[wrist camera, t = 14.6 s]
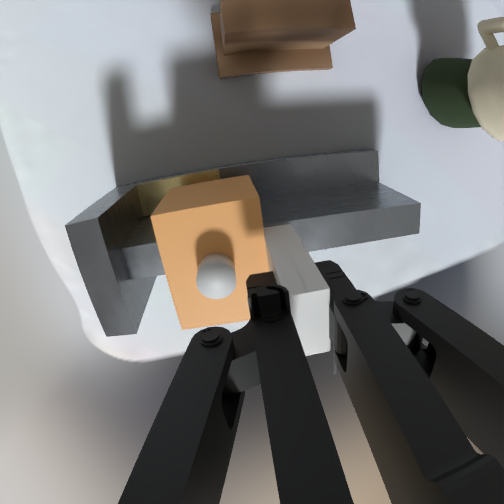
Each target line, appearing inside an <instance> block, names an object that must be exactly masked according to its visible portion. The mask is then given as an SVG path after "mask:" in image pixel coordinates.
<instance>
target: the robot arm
mask: <svg viewBox="0 0 504 504" xmlns="http://www.w3.org/2000/svg"><path fill="white" fill-rule="evenodd" d="M264 235H265V236H264V238H265V246H266V253H267V261H268V269H269V272H263V273H257V274H251V275H249V277H248V278H247V280H246V287H247V294H248V297H247V300H248V306H249V311H250V320H249V322H248V323H247V324H246V325H245V326H244V327H243V328H241V329H239V330H237V331H235V332H232V333H230V331H229V330H227V329H225V328H223V327H208V328H206V329H203V330H201V331H199V332H198V333H196V334H195V335H194V336H193V338H192V339H191V341H190V343H189V345H188V348H187V350H186V352H185V354H184V356H183V359H182V361H181V363H180V365H179V367H178V369H177V372H176V374H175V376H174V378H173V380H172V383H171V385H170V387H169V389H168V392H167V394H166V396H165V398H164V401H163V402H162V405H161V407H160V409H159V412H158V414H157V416H156V418H155V420H154V423H153V425H152V427H151V429H150V431H149V434H148V436H147V438H146V441H145V443H144V445H143V447H142V450H141V452H140V454H139V457H138V459H137V461H136V463H135V466H134V468H133V470H132V473H131V475H130V477H129V479H128V482H127V484H126V486H125V489H124V491H123V493H122V496H121V498H120V500H119V503H118V504H219V502H220V498H221V494H222V490H223V486H224V482H225V478H226V474H227V470H228V466H229V461H230V457H231V453H232V449H233V444H234V440H235V436H236V432H237V427H238V423H239V419H240V414H241V409H242V405H243V401H244V397H245V390H247V389H249V388H252V387H254V386H256V385H259V384H261V388H262V393H263V400H264V407H265V413H266V419H267V425H268V432H269V438H270V444H271V450H272V457H273V463H274V468H275V475H276V481H277V487H278V492H279V498H280V504H354V503H353V500H352V498H351V494H350V491H349V488H348V485H347V481H346V479H345V475H344V472H343V469H342V466H341V463H340V459H339V456H338V453H337V450H336V447H335V444H334V441H333V437H332V434H331V431H330V428H329V425H328V422H327V419H326V416H325V413H324V410H323V407H322V404H321V401H320V398H319V395H318V392H317V389H316V386H315V383H314V380H313V377H312V374H311V371H310V368H309V365H308V362H307V359H306V356H308V355H312V354H317V353H322V352H327V351H330V340H331V343H332V345H333V347H334V363H333V372H334V374H336V373H337V368H338V370H339V372H340V375H341V377H342V379H343V382H344V384H345V387H346V389H347V391H348V394H349V396H350V399H351V401H352V404H353V406H354V408H355V411H356V413H357V416H358V418H359V421H360V423H361V425H362V428H363V431H364V433H365V436H366V438H367V440H368V443H369V446H370V448H371V451H372V453H373V456H374V458H375V461H376V463H377V466H378V468H379V471H380V473H381V476H382V479H383V482H384V484H385V487H386V490H387V492H388V495H389V498H390V500H391V503H392V504H504V346H503V345H502V344H500V343H499V342H498V341H496V340H495V339H494V338H492V337H491V336H489V335H488V334H487V333H485V332H484V331H482V330H481V329H479V328H478V327H476V326H475V325H474V324H472V323H471V322H469V321H468V320H466V319H465V318H463V317H462V316H460V315H459V314H457V313H456V312H454V311H453V310H451V309H450V308H448V307H447V306H445V305H444V304H442V303H441V302H439V301H438V300H436V299H435V298H433V297H432V296H430V295H429V294H427V293H426V292H424V291H422V290H419V289H414V288H406V289H402V290H399V291H398V292H397V293H396V294H395V296H394V301H391V302H390V301H389V302H388V301H387V302H379V301H374V300H373V298H372V297H371V296H370V295H369V294H368V293H366V292H364V291H361V290H356V288H355V287H354V286H353V284H352V283H351V282H350V280H349V279H348V277H347V276H346V275H345V273H344V272H343V271H342V269H341V268H340V266H339V265H338V264H336V263H334V262H332V261H330V260H328V261H322V262H317V263H314V261H313V260H312V258H311V256H310V255H309V253H308V251H307V250H306V248H305V247H304V245H303V243H302V242H301V240H300V238H299V237H298V235H297V234H296V232H295V230H294V229H293V227H292V226H291V224H286V225H279V226H273V227H267V228H264ZM423 338H424V339H426V340H427V341H428V342H429V344H428V346H425V345H424V344H422V340H423ZM467 437H468V438H469V439H470V440H471V441H472V442H473V443H474V444H475V445H476V446H477V447H478V448H479V449H480V450H481V451H482V452H483V453H484V454H482V455H480V454H478V453H476V451H475V450H474V449H473V447H472V446H471V444H470V442H469V440H468V439H467Z"/></svg>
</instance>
